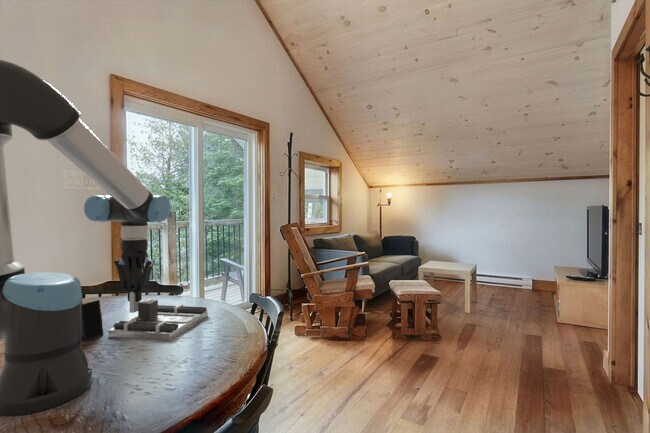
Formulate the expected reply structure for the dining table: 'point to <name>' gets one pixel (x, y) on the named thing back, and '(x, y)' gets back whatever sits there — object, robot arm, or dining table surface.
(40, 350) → the robot arm
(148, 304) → the dark grey block
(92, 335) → the speaker
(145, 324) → the cords left
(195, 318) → the panel
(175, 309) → the cords right
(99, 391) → the dining table surface
